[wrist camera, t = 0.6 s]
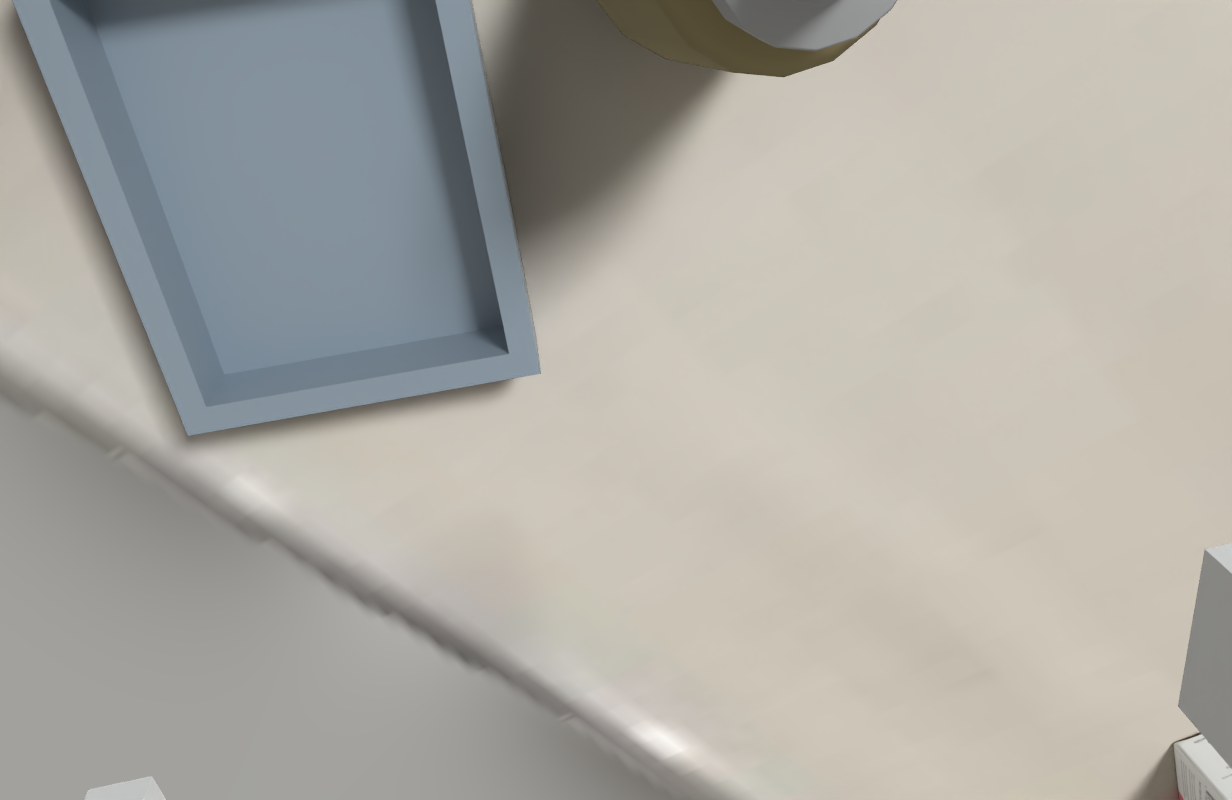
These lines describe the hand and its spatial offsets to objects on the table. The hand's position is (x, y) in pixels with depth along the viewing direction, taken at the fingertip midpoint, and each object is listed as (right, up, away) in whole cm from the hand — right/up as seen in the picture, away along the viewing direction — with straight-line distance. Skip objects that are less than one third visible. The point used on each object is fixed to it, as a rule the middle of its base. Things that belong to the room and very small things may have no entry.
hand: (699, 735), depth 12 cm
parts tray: (-12, +13, +22) cm, 28 cm away
